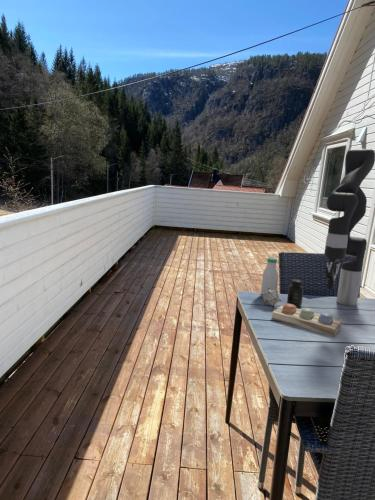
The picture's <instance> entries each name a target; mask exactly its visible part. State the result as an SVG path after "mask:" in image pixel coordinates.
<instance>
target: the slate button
mask: <svg viewBox="0 0 375 500" xmlns="http://www.w3.org/2000/svg"><path fill="white" fill-rule="evenodd" d="M319 314H320V316H319V320H318V321H320V322H323V323H327V324H331V323H332V322H333V318H334V316H333V314H331V313H328V312H320V313H319Z"/></svg>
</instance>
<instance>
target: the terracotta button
mask: <svg viewBox="0 0 375 500" xmlns="http://www.w3.org/2000/svg"><path fill="white" fill-rule="evenodd" d="M283 305H284V306H283V309H282V312H286V313H290V314H294V313H295V312H296V308H297V307H295V305H293V304H287V303H284V304H283Z"/></svg>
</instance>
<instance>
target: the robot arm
mask: <svg viewBox="0 0 375 500" xmlns="http://www.w3.org/2000/svg"><path fill="white" fill-rule="evenodd" d="M344 163H345V165H344V168H345V169H344V172H345V173H344V174H345V175H344V177H343V178H342V179H341V181H340V183H339V185H338V186H337V187H336V188H334V190H333V191H331V192H330V193H329V195H328V197H327V199H326V207H327V209H328V210H329V211H332V212H339V213H341V212H343V215H342V216H340V217H332V218H330V219H329V223H328V229H327V235H326V238H325V246H324V248H325V249H324V254H323V256H324V257H326V258H329V259H328V261H327V263H326V267H325V277H326V279H327V284H326V288H327V289H329V290H333V289H334V288H335V281H336V279H337V277H338V273H339V269H340V275H339V280H338V281H339V282H338V289H337V294H336V302H337V303H338V304H341V305H344V306H350V307H355V306H357V305H358V298H359V291H360V287H361V286H360V285H361V279H362V272H363V266H364V259H365V254H366V250H367V246H368V245H367V244H368V242H367V239H366V238H364V237H357V236H351V232H352V231H353V229H354V228H355V227H356V225H357V224H358V223H360V221H361V220H362V219H363V218H364V216H365V215H366V213H367V197H366V194H365V193H364V191H363V190H362V187H361V184H362V182H363V181H364V180H365V179H366V177H367V176H368V175H369V173H371V171H372V170H373V167H374V165H375V150H373V149H372V148H351V149H348V150H347V152H346V154H345V160H344ZM346 256H351V257H356V258H355V259H353V260H349V261H344V262H342V263H341V262H340V260H344V259H345V258H346Z"/></svg>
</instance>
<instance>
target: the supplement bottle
mask: <svg viewBox="0 0 375 500" xmlns="http://www.w3.org/2000/svg"><path fill="white" fill-rule="evenodd" d="M303 296H304V287H303V281H302V280H300V279H295V278H294V279H291V282H290V285H289V286H288V289H287V299H286V300H287V301H286V304H293V305H295V307H296V308H299V307H301V306H302V305H303Z"/></svg>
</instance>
